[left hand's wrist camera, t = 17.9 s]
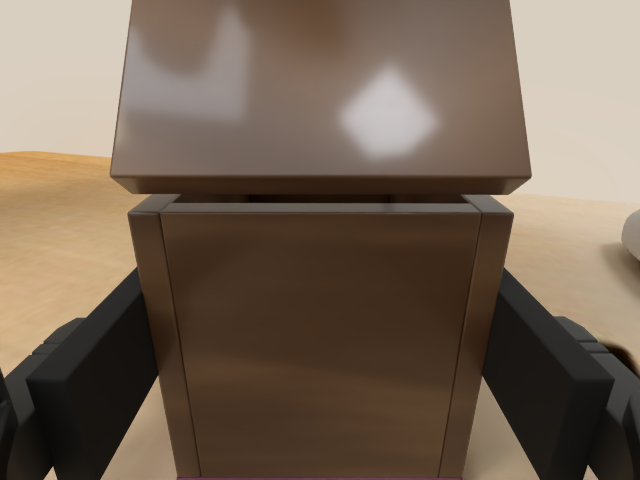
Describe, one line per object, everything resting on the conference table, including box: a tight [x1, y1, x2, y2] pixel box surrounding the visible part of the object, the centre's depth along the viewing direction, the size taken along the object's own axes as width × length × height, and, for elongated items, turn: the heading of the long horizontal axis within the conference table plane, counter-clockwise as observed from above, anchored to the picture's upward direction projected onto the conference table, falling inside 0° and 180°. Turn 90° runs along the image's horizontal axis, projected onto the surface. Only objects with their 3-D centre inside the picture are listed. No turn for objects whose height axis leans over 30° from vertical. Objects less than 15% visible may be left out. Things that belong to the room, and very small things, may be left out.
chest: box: [128, 194, 514, 480], centre depth 17 cm, size 13×9×10 cm
